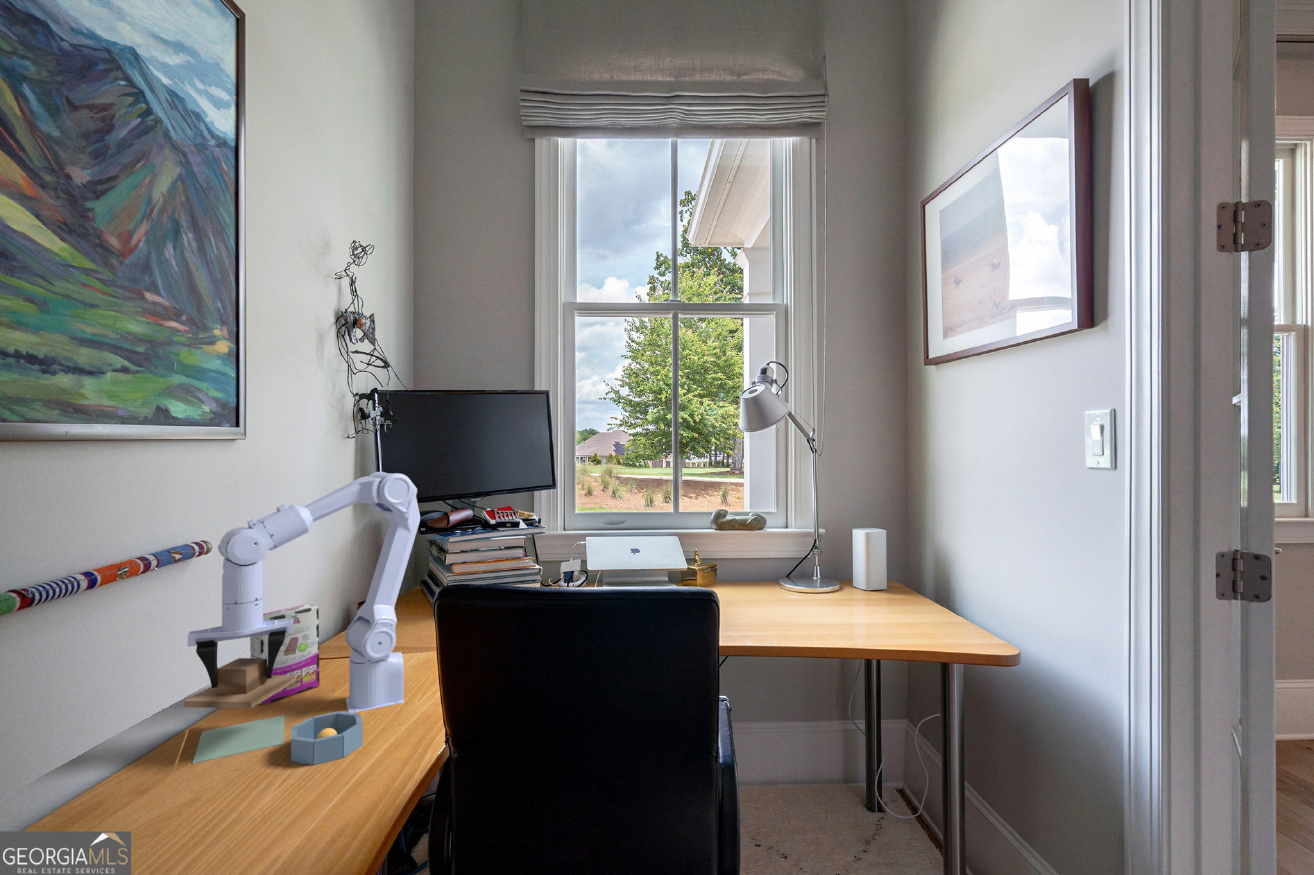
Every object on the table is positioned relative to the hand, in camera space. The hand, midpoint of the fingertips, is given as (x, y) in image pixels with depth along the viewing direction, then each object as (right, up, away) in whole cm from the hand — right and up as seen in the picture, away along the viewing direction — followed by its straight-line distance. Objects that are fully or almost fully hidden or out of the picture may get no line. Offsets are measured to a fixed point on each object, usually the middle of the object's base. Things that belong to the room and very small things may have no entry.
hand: (242, 681), depth 102 cm
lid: (0, -2, 0) cm, 2 cm away
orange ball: (+16, -9, -3) cm, 19 cm away
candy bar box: (-5, -10, +19) cm, 22 cm away
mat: (0, -10, 0) cm, 10 cm away
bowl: (+16, -10, -3) cm, 19 cm away
